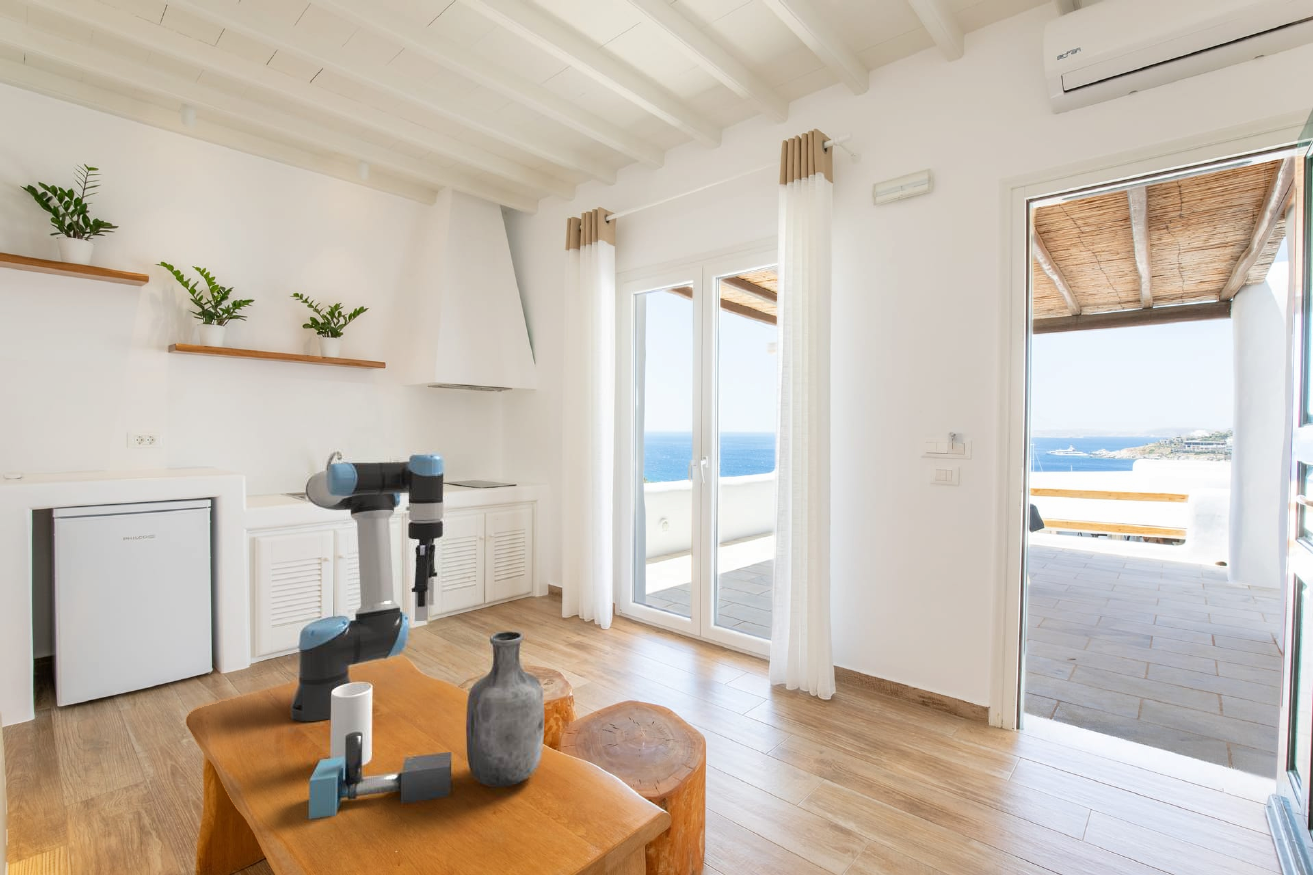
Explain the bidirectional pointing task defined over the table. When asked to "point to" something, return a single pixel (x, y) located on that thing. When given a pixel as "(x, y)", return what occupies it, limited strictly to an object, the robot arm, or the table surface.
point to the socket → (325, 787)
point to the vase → (505, 718)
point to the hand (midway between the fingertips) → (424, 612)
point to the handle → (353, 773)
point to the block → (426, 777)
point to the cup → (351, 718)
